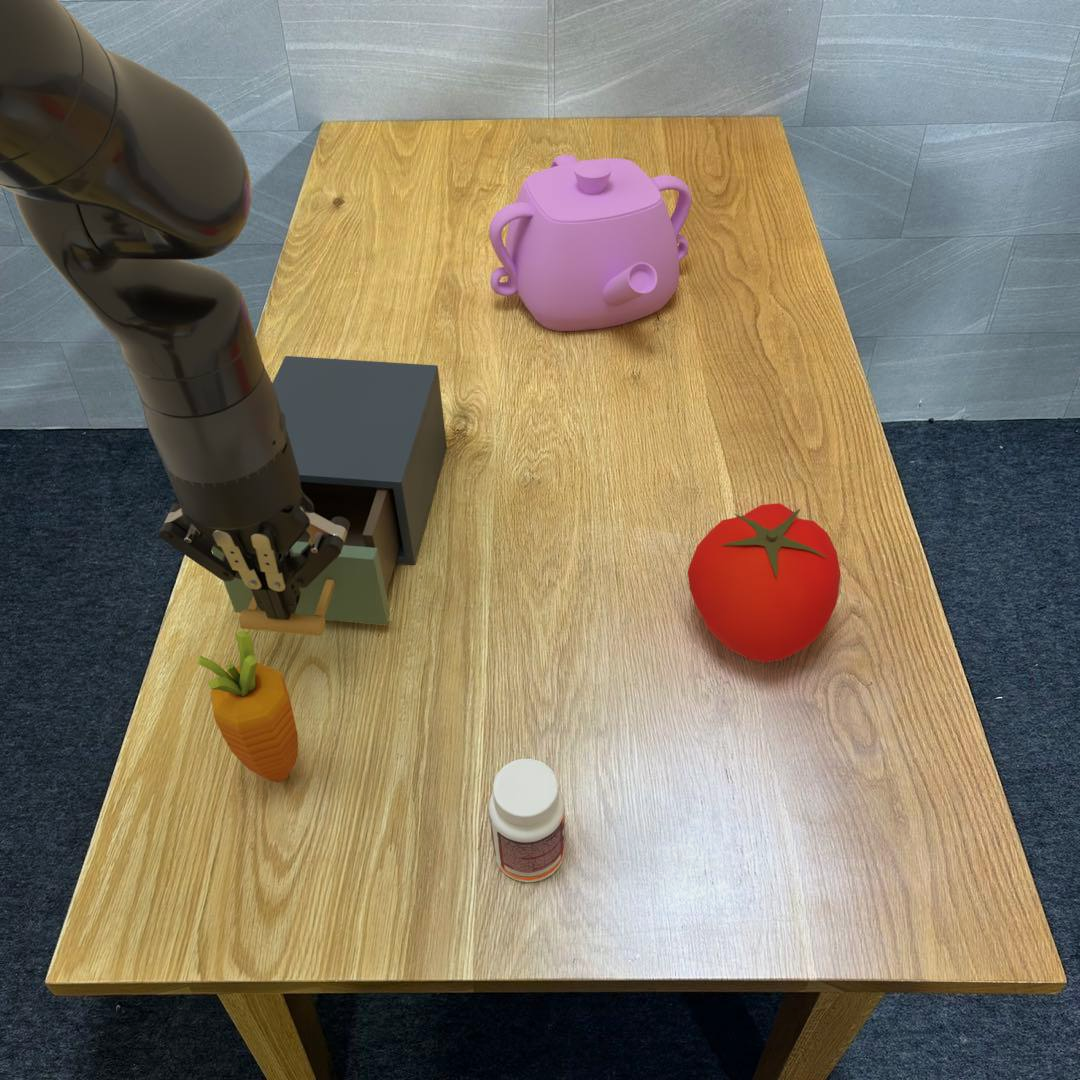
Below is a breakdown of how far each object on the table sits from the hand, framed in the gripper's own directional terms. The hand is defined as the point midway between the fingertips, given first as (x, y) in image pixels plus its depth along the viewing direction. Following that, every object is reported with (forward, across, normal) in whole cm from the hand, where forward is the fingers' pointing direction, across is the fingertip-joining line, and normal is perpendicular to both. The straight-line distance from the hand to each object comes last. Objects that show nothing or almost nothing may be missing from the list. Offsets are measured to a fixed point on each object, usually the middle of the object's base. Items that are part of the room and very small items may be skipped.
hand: (282, 609), depth 75 cm
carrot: (+6, +2, -10) cm, 12 cm away
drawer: (+6, 0, +8) cm, 10 cm away
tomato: (+7, +35, +8) cm, 36 cm away
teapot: (+8, +18, +51) cm, 54 cm away
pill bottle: (+6, +20, -14) cm, 25 cm away
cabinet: (+7, 0, +18) cm, 19 cm away
